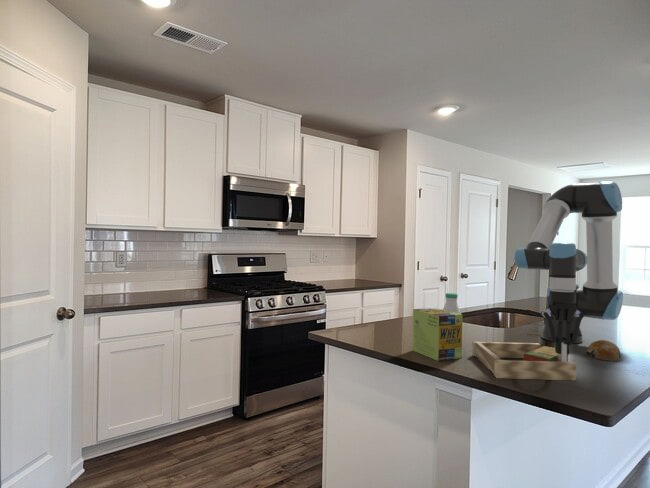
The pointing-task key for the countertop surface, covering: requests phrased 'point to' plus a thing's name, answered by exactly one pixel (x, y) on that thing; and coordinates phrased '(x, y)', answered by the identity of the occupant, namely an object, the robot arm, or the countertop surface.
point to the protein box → (437, 333)
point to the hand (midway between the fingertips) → (562, 363)
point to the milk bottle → (451, 303)
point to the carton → (542, 355)
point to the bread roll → (604, 351)
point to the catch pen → (520, 362)
